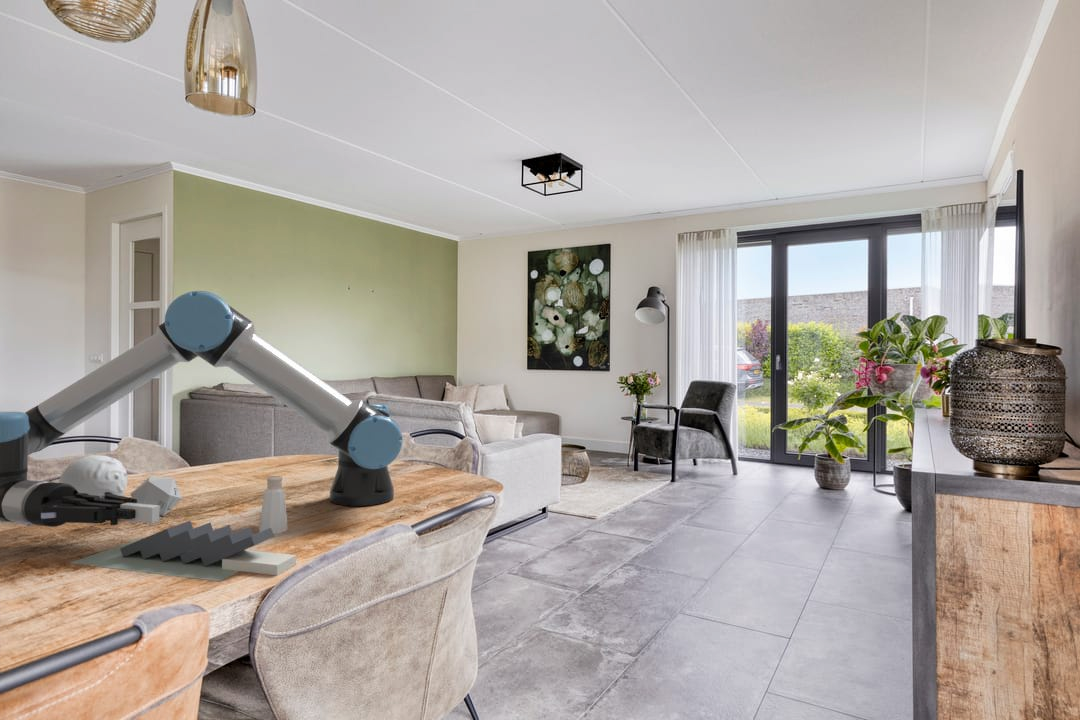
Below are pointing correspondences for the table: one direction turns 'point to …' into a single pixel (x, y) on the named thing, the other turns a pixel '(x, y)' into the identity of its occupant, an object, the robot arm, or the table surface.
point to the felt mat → (157, 564)
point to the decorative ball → (96, 475)
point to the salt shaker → (273, 507)
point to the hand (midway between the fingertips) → (155, 514)
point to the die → (158, 493)
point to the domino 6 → (259, 562)
